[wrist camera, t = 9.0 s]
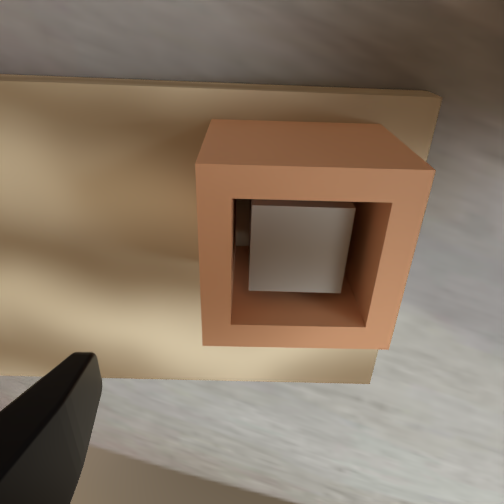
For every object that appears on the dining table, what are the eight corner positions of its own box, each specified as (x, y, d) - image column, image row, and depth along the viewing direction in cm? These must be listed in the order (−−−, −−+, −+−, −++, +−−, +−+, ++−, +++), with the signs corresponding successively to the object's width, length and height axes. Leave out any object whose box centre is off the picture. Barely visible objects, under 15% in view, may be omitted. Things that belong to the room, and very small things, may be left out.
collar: (211, 118, 14) (194, 163, 10) (380, 123, 15) (435, 170, 10) (214, 263, 17) (202, 346, 13) (354, 267, 18) (388, 349, 13)
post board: (-116, 69, 15) (-286, 95, 10) (426, 90, 15) (504, 124, 11) (-9, 353, 22) (-80, 447, 17) (362, 362, 22) (392, 456, 18)
